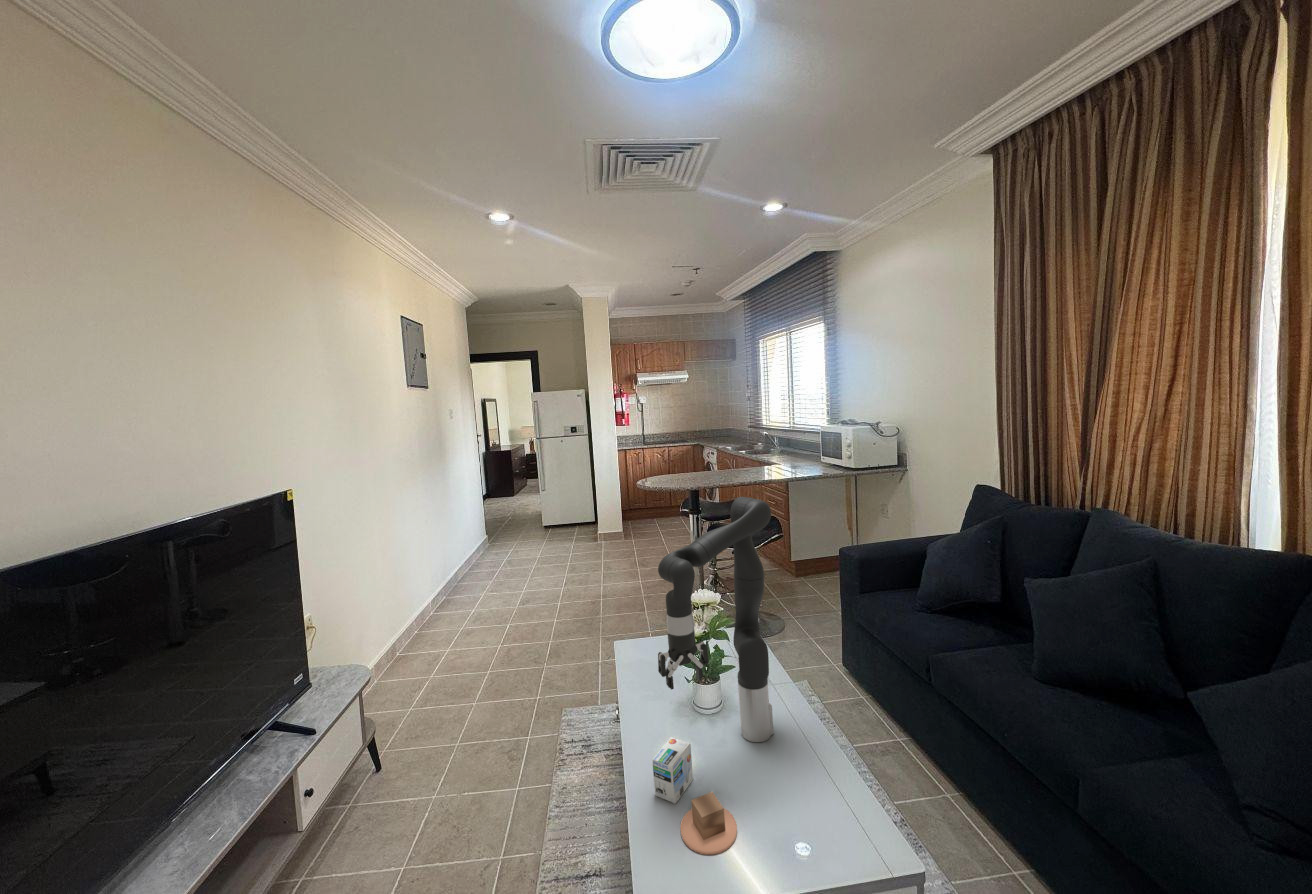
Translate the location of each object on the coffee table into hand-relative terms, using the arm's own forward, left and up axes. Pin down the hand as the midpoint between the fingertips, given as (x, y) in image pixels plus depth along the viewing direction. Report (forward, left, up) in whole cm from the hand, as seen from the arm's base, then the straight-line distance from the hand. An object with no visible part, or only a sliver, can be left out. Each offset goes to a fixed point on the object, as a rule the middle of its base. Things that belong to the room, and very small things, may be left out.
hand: (685, 683), depth 145 cm
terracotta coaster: (+4, +18, -28) cm, 34 cm away
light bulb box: (+6, +1, -28) cm, 29 cm away
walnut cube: (+4, +18, -27) cm, 33 cm away
